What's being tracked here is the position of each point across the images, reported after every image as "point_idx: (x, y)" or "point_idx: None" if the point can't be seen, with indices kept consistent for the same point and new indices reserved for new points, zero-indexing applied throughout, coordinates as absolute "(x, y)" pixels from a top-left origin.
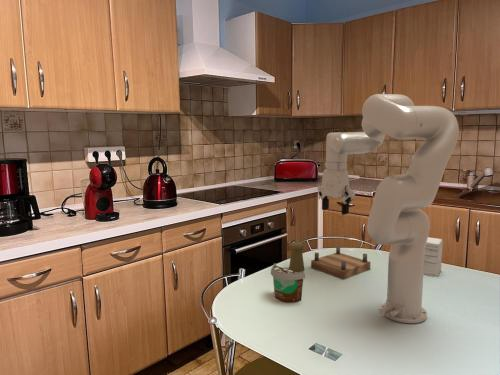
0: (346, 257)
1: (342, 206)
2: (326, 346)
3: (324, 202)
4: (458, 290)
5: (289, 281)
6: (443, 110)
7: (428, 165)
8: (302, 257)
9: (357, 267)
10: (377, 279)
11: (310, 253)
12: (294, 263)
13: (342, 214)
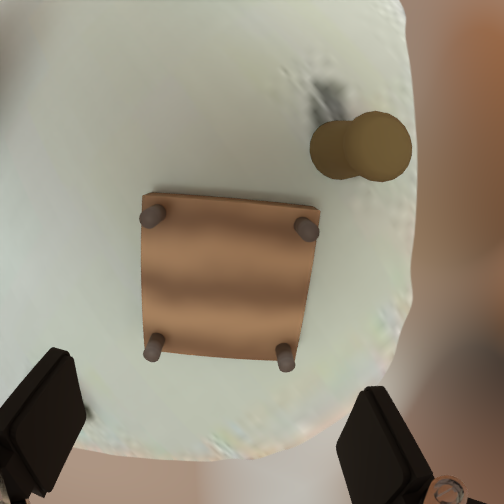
0: (233, 336)
1: (13, 405)
2: None
3: (386, 464)
4: None
5: None
6: None
7: None
8: (334, 155)
9: (141, 276)
10: (85, 273)
11: (391, 326)
12: (341, 121)
13: (63, 350)
